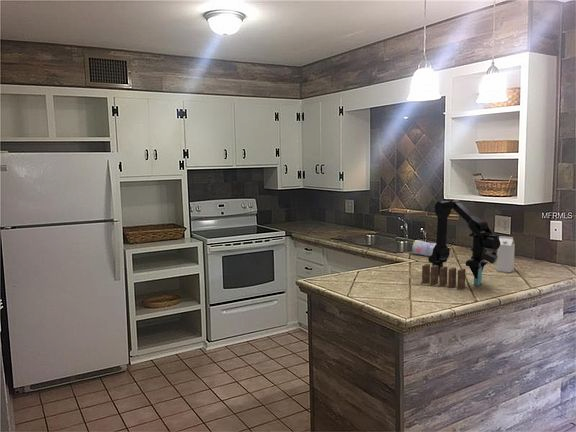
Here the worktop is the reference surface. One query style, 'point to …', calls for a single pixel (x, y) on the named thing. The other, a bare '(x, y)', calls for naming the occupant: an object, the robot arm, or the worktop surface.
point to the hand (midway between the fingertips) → (477, 277)
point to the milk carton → (505, 254)
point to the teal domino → (479, 279)
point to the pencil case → (423, 248)
